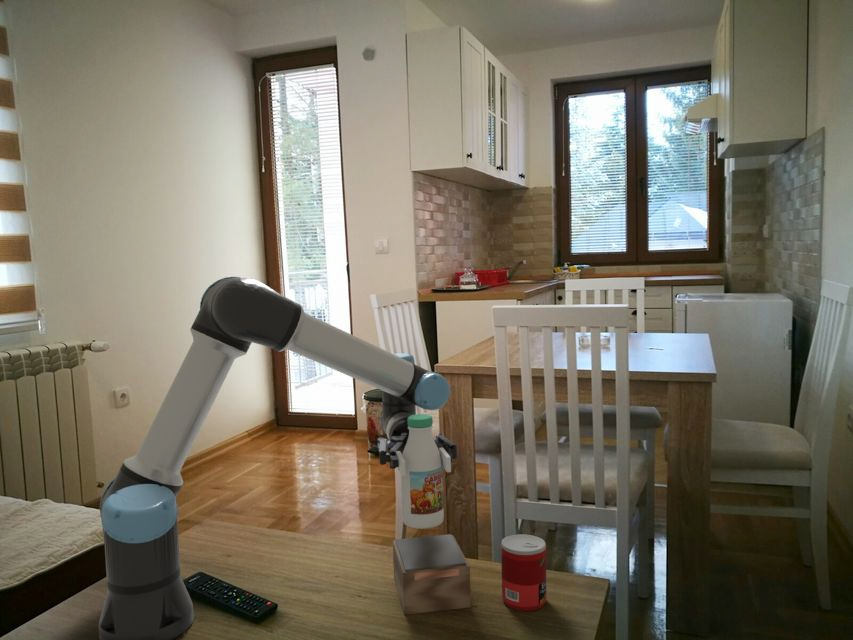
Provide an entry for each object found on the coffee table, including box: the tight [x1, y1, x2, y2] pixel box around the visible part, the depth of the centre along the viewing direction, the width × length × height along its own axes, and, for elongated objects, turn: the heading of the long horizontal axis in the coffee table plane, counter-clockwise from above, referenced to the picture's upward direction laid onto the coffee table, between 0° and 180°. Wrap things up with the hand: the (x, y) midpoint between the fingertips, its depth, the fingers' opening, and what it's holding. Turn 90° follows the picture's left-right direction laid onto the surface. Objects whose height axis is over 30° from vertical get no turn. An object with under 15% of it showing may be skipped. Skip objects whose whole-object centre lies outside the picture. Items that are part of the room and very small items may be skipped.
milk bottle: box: [400, 413, 445, 530], centre depth 124 cm, size 8×8×20 cm
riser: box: [392, 533, 472, 616], centre depth 125 cm, size 12×14×8 cm
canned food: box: [500, 533, 547, 612], centre depth 121 cm, size 8×8×11 cm
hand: (426, 466), depth 119 cm, fingers closed on milk bottle, 7 cm apart
